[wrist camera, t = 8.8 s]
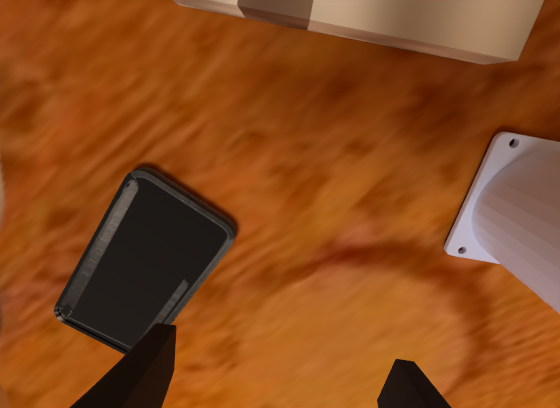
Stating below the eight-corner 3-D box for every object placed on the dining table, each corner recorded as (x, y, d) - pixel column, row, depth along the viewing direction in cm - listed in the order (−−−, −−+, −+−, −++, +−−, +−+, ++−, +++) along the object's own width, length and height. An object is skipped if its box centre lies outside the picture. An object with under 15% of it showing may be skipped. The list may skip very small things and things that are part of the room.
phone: (49, 316, 22) (132, 162, 17) (60, 305, 23) (141, 158, 18) (141, 363, 24) (242, 234, 19) (148, 351, 25) (245, 226, 20)
